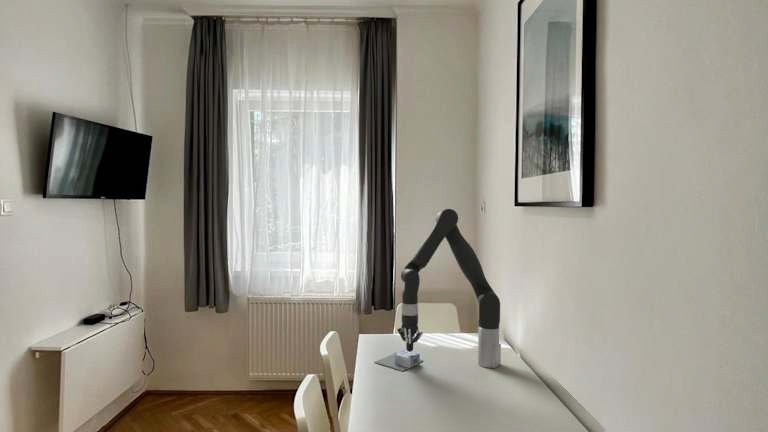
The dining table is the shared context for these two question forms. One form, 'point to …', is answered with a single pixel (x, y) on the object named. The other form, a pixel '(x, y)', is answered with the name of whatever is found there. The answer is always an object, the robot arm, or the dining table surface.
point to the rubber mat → (392, 363)
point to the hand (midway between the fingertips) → (409, 351)
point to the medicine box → (407, 359)
